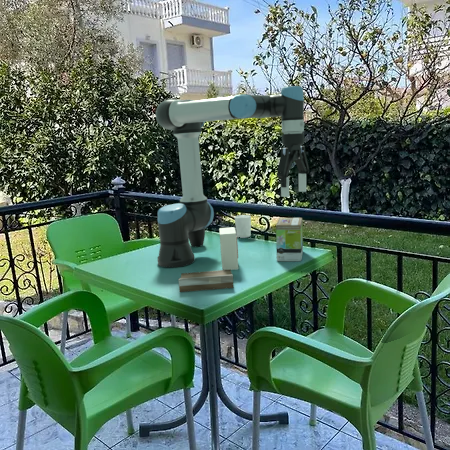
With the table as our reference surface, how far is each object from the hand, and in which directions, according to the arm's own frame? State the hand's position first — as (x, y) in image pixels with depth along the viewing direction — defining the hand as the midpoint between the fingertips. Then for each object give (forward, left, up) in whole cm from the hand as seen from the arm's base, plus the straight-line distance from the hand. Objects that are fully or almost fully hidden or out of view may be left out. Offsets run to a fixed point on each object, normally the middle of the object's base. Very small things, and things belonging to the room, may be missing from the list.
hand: (294, 194), depth 158 cm
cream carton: (-25, -8, -28) cm, 38 cm away
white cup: (-48, +34, -28) cm, 66 cm away
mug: (-59, +12, -28) cm, 67 cm away
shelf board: (-20, -28, -28) cm, 44 cm away
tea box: (-10, +13, -28) cm, 33 cm away
